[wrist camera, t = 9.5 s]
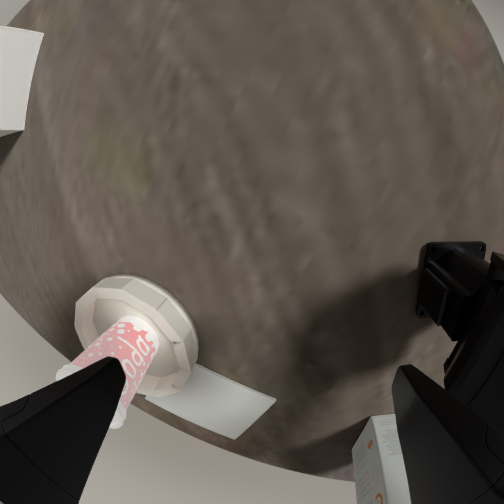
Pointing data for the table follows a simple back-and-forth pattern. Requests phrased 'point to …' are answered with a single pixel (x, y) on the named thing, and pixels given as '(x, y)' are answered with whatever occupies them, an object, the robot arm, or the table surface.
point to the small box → (380, 464)
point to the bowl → (155, 315)
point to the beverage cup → (120, 357)
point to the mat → (216, 403)
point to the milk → (16, 75)
